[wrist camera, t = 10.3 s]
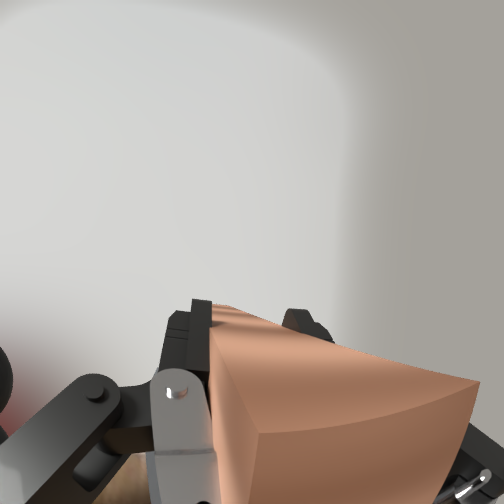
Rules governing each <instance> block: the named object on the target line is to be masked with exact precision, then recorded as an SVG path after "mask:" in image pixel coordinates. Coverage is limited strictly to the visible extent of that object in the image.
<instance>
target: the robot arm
mask: <svg viewBox="0 0 504 504" xmlns="http://www.w3.org/2000/svg"><path fill="white" fill-rule="evenodd" d="M210 327H211V328H212V301H207V300H199V299H192V305H191V312H185V311H177V310H176V311H175V312H174V313H173V314H172V315H171V316H170V317H169V320H168V325H167V330H166V333H165V339H164V343H163V348H162V353H161V359H160V364H159V369H158V372H157V374H155V375H154V377H153V378H152V379H151V380H150V381H148V382H147V383H144V384H142V385H137V386H128V387H118V386H117V384H116V383H115V382H114V381H113V380H112V379H110V378H109V377H107V376H104V375H100V374H86V375H83V376H80V377H79V378H77V379H76V380H75V381H73V382H72V383H71V384H70V385H69V386H67V387H66V388H65V389H64V390H63V391H62V392H60V394H58V395H57V396H56V397H55V398H54V399H52V400H51V401H50V402H49V403H48V404H47V405H46V406H45V407H43V408H42V409H41V410H40V411H39V412H37V413H36V414H35V415H34V416H33V417H32V418H31V419H29V421H27V422H26V423H25V424H24V425H23V426H22V427H20V428H19V429H18V430H17V431H16V432H15V433H14V434H13V435H11V436H10V437H8V435H7V434H6V432H5V431H4V430H3V428H2V427H1V426H0V504H92V503H93V501H94V500H95V499H96V498H97V497H98V495H99V494H100V493H101V492H102V490H103V489H104V488H105V487H106V485H107V484H108V483H109V482H110V480H111V479H112V478H113V477H114V475H115V474H116V473H117V472H118V470H119V469H120V468H121V467H122V465H123V464H124V463H125V462H126V460H127V459H128V458H129V456H130V455H131V454H133V453H142V452H151V451H155V453H154V455H155V465H156V472H157V479H158V485H159V491H160V496H161V502H162V504H222V502H221V492H220V482H219V470H218V460H217V453H216V451H215V450H214V446H213V429H212V420H211V416H210V412H209V409H208V405H207V400H206V397H207V389H208V382H209V375H210ZM282 327H285V328H288V329H291V330H293V331H296V332H299V333H302V334H307V335H310V336H313V337H316V338H319V339H322V340H325V341H328V342H331V343H334V344H335V342H334V341H333V339H332V337H331V335H330V334H329V332H328V330H327V329H325V328H324V327H323V326H322V325H321V324H320V323H316V322H314V320H313V319H312V317H311V315H310V313H309V311H308V310H305V309H288V310H287V311H286V313H285V316H284V319H283V323H282ZM12 385H13V373H12V368H11V365H10V362H9V360H8V358H7V356H6V354H5V353H4V351H3V350H2V348H1V347H0V413H1V412H2V411H3V409H4V408H5V406H6V405H7V403H8V400H9V398H10V396H11V392H12V387H13V386H12ZM503 493H504V448H502V447H501V446H500V445H498V444H497V443H496V442H494V441H493V440H492V439H490V438H489V437H488V436H486V435H485V434H484V433H483V432H481V431H480V430H479V429H477V428H476V427H474V426H473V425H472V424H471V423H469V424H468V427H467V430H466V432H465V435H464V438H463V441H462V443H461V446H460V448H459V451H458V453H457V456H456V458H455V460H454V462H453V465H452V467H451V469H450V471H449V473H448V475H447V477H446V479H445V481H444V483H443V485H442V487H441V489H440V491H439V493H438V494H437V496H436V498H435V500H434V501H433V503H432V504H495V503H496V501H497V499H498V497H499V496H500V495H502V494H503Z"/></svg>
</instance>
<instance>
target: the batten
mask: <svg viewBox="0 0 504 504" xmlns="http://www.w3.org/2000/svg"><path fill="white" fill-rule="evenodd" d="M479 385H480V382H479V381H474V380H469V379H464V378H459V377H454V376H450V375H446V374H441V373H437V372H433V371H429V370H424V369H421V368H417V367H413V366H409V365H405V364H402V363H398V362H394V361H390V360H387V359H383V358H380V357H376V356H372V355H369V354H366V353H363V352H359V351H356V350H353V349H350V348H346V347H343V346H340V345H337V344H334V343H331V342H328V341H325V340H322V339H319V338H316V337H313V336H310V335H307V334H302V333H299V332H296V331H293V330H291V329H288V328H285V327H282V326H281V325H278V324H275V323H273V322H270V321H267V320H264V319H262V318H259V317H257V316H254V315H251V314H249V313H246V312H243V311H241V310H238V309H236V308H233V307H230V306H227V305H217V304H212V328H211V327H210V375H209V382H208V389H207V397H206V400H207V405H208V409H209V412H210V416H211V420H212V429H213V446H214V450H215V451H216V453H217V460H218V470H219V482H220V492H221V502H222V504H432V503H433V501H434V500H435V498H436V496H437V494H438V493H439V491H440V489H441V487H442V485H443V483H444V481H445V479H446V477H447V475H448V473H449V471H450V469H451V467H452V465H453V462H454V460H455V458H456V456H457V453H458V451H459V448H460V446H461V443H462V441H463V438H464V435H465V432H466V430H467V427H468V424H469V421H470V418H471V414H472V411H473V407H474V404H475V400H476V396H477V393H478V388H479Z"/></svg>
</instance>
